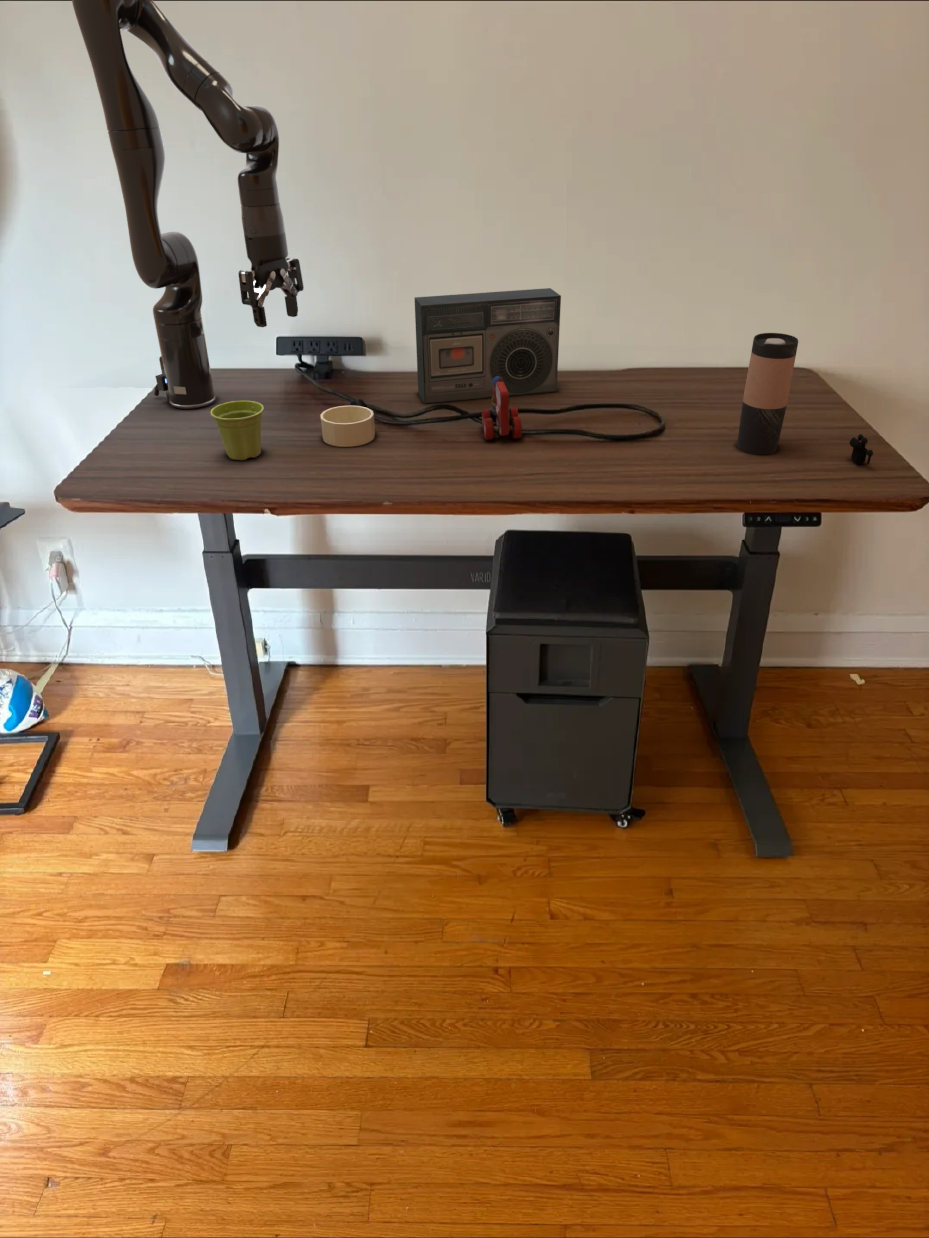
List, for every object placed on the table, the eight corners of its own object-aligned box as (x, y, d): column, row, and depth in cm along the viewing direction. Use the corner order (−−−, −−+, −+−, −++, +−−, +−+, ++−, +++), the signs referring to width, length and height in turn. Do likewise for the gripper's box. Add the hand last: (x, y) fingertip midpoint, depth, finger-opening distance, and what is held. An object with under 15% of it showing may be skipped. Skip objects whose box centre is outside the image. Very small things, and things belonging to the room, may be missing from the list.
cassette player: (424, 403, 188) (421, 305, 177) (418, 393, 194) (414, 297, 183) (556, 391, 194) (560, 295, 183) (546, 381, 199) (550, 288, 189)
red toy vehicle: (515, 421, 179) (516, 369, 173) (522, 444, 169) (524, 390, 163) (480, 422, 179) (480, 371, 173) (486, 446, 168) (486, 392, 162)
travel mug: (779, 442, 168) (799, 334, 157) (777, 457, 162) (798, 346, 151) (737, 437, 170) (754, 331, 160) (733, 452, 164) (751, 342, 154)
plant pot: (258, 466, 161) (251, 420, 157) (209, 462, 163) (201, 416, 158) (277, 446, 169) (271, 402, 164) (230, 443, 171) (223, 399, 166)
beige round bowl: (311, 440, 172) (309, 417, 169) (345, 424, 179) (343, 402, 176) (352, 450, 167) (350, 427, 165) (385, 433, 174) (383, 411, 172)
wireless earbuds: (871, 470, 157) (878, 443, 154) (857, 471, 157) (864, 444, 154) (851, 455, 163) (857, 428, 160) (838, 455, 163) (844, 429, 160)
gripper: (276, 224, 171) (288, 311, 180) (221, 236, 161) (236, 328, 170) (305, 226, 168) (316, 315, 176) (251, 239, 158) (265, 332, 166)
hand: (277, 321), depth 173 cm, fingers open, 8 cm apart
